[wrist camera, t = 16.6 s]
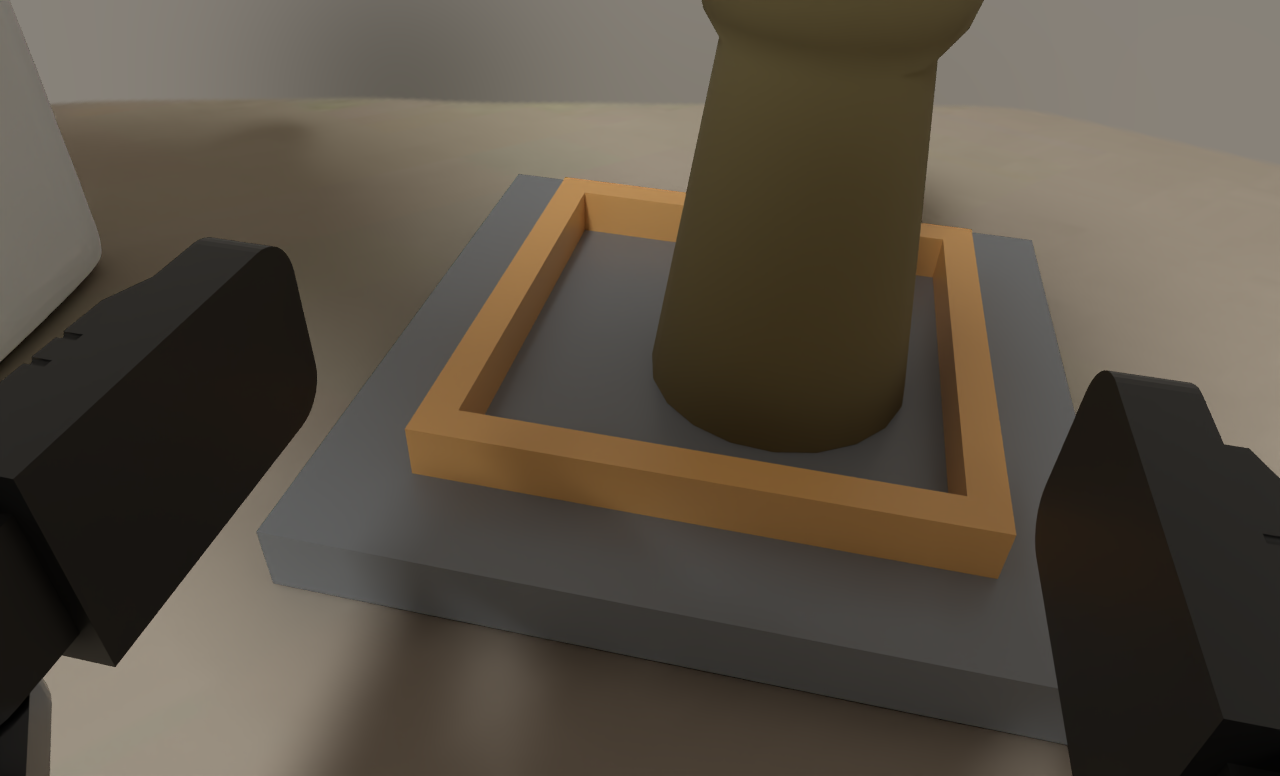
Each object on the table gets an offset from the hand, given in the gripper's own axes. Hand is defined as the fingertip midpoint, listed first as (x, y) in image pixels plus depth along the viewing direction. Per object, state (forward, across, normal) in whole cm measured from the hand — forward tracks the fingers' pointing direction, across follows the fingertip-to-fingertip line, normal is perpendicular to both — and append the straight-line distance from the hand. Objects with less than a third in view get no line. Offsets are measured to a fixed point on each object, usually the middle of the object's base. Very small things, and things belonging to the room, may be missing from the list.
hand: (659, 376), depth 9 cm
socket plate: (+11, 0, +9) cm, 14 cm away
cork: (+11, -1, +8) cm, 13 cm away
